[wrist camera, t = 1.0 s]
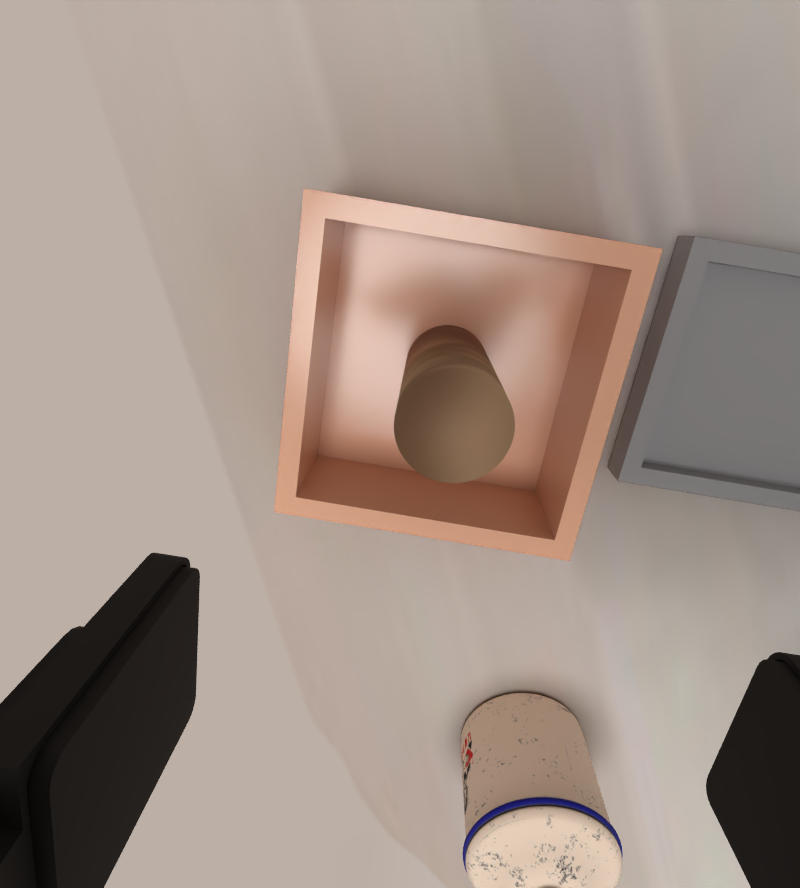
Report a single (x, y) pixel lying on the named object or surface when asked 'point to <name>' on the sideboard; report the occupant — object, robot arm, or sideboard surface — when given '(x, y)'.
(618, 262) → the terracotta open box
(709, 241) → the grey tray
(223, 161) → the sideboard surface
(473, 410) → the walnut dowel
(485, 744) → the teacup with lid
